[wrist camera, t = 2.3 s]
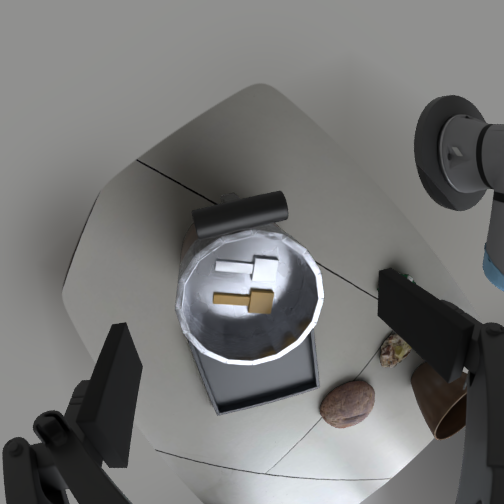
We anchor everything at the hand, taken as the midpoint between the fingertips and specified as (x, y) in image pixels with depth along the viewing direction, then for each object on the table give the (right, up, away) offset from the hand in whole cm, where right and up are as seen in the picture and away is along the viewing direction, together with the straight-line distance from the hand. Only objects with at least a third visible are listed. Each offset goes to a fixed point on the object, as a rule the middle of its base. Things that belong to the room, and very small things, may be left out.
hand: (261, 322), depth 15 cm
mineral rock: (+28, -15, +41) cm, 52 cm away
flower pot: (+39, -24, +46) cm, 65 cm away
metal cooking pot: (-2, +2, +19) cm, 19 cm away
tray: (+1, -15, +36) cm, 39 cm away
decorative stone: (+19, -27, +43) cm, 54 cm away
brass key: (-1, -2, +20) cm, 20 cm away
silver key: (-1, +2, +19) cm, 19 cm away
